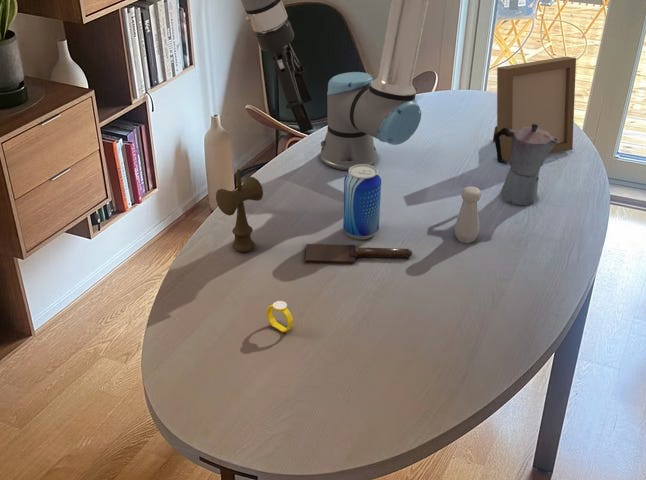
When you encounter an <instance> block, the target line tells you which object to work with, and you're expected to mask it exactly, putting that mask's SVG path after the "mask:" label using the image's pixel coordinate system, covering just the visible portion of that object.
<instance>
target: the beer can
mask: <svg viewBox="0 0 646 480" xmlns="http://www.w3.org/2000/svg"><path fill="white" fill-rule="evenodd" d="M381 192H382V178H381V176H380V175H379V171H378V168H376V167H375V166H373V165H366V164H359V165H354V166H352V167H350V168H349V170H348V172H347V173H346V175H345V176H344V179H343V215H342V216H343V220H342V222H343V223H342V228H343V230H344V232H345V233H346V234H347V236H348V237H350V238H352V239H355V240H368V239H370V238H373V237H374V236H375V235H376V233H377V232H378V231H379V230H380V216H381V197H382V196H381V194H382V193H381Z"/></svg>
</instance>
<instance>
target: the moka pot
mask: <svg viewBox="0 0 646 480" xmlns="http://www.w3.org/2000/svg"><path fill="white" fill-rule="evenodd" d="M501 135H505V136H507V137H509V138H512V146H511V158H510V159H511V162H509V164H510V167H509V168H508V171H507V175H506V177H505V180H504V182H503V185H502V188H501V191H500V196H501V198H502V199H504V201H506V202H507V203H510V204H512V205H516V206H517V205H518V206H529V205H532V204H533V203H535V201H536V200H537V195H538V187H539V186H538V185H539V180H540V177H539V176H540V170H541V168H542V166H544V163H545V161H546V158H547V156H548V154H549V152H550V151H551V150H552V149H553V147H554V146H555V145H556V144H557V143H559V141H558V139H556V138H555V137H553V136H550V134H549V133H548V132H547V131H544V130H542V129H539V128H538V125H536V124H532V127H520V128H518V129H517V130H514V129H507V128H503V129H501V130H500V131H498V133H496V134H495V135H494V134H493V136H494V141H493V142H494V145H495V146H494V147H495V151H496V159H497V158H498V160H497V162H498V163H500V164H502V165H507V164H508V163H507V162H508V161H507V160H503V159H502V155H501V146H500V139H499V137H500V136H501ZM549 155H550V154H549Z"/></svg>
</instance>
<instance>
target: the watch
mask: <svg viewBox="0 0 646 480" xmlns="http://www.w3.org/2000/svg"><path fill="white" fill-rule="evenodd" d="M273 311H275V312H277V313H282V314H283V315H284V317H285V319H286V322H287V327H285V326H284V325H282V323H281V324H280V323H279V322H278V321H277V320H276V318H275V317H274V314H273ZM266 318H267V320H268V322H269V324H270V325H271V327H273V328H274V329H276V330H277V331H280V332H281V333H287V332H289V330H291V329H292V328H293V326H294V319H293V318H294V317H293V315H292V313H291V312H290V310H289V309H288V304H287V302H285V301H283V300H277V301H274V302H273V303H272V304H271V305H269V306H268V307H267V308H266Z"/></svg>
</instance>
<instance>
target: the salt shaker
mask: <svg viewBox="0 0 646 480" xmlns="http://www.w3.org/2000/svg"><path fill="white" fill-rule="evenodd" d="M481 196H482V192H481V190H480V189H479V188H478V187H476V186H466V187H464V188H463V189H462V191H461V199H462V202H461V206H460V208H459V212H458V215H457V218H456V221H455V224H454V228H453V231H454V234H455V237H456V239H457V240H458V242H460V243H463V244H464V243H465V244H470V243H473V242H475V240H476V239H477V237H478V236H479V233H480V221H479V208H478V202H479V201H480V200H481Z"/></svg>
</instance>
